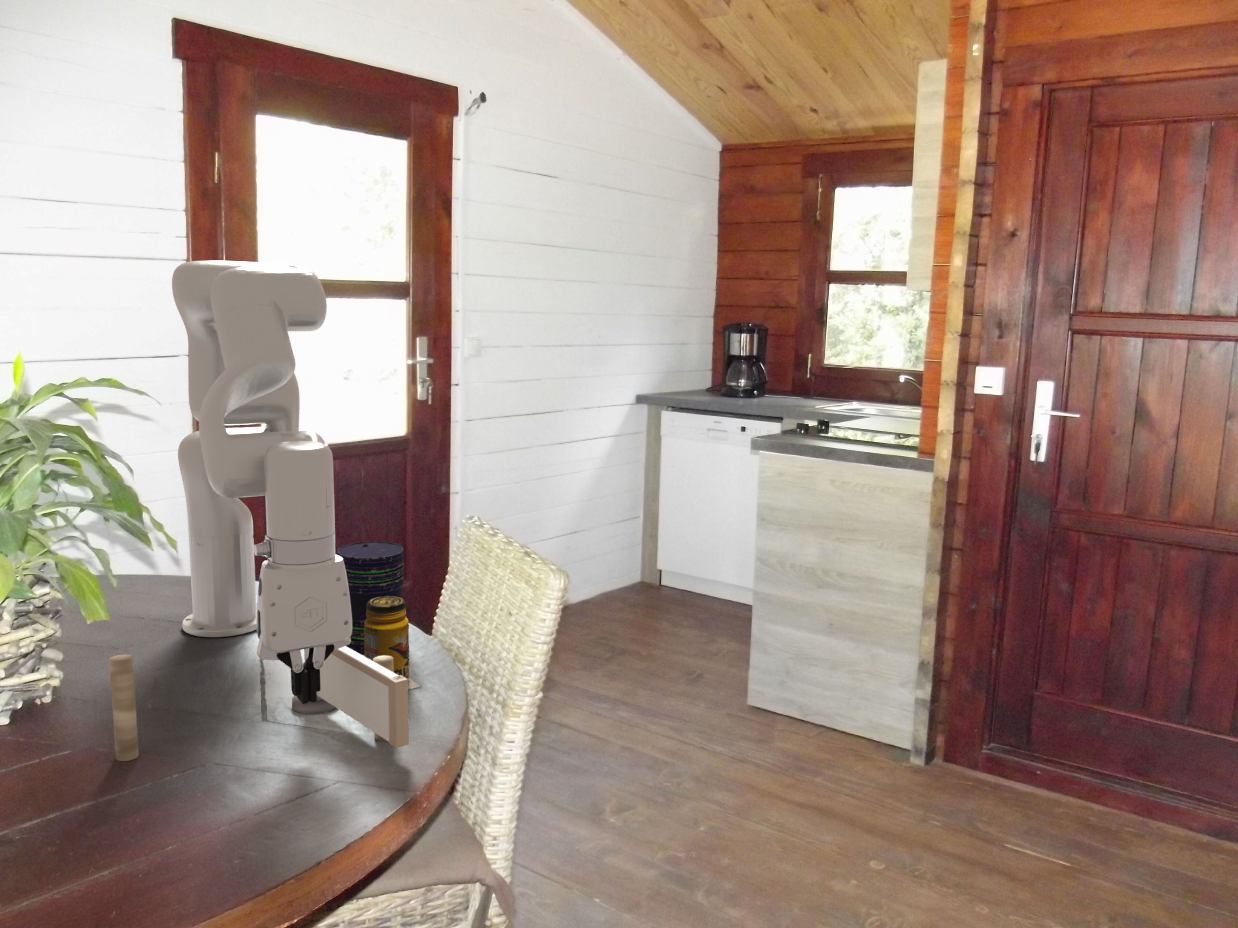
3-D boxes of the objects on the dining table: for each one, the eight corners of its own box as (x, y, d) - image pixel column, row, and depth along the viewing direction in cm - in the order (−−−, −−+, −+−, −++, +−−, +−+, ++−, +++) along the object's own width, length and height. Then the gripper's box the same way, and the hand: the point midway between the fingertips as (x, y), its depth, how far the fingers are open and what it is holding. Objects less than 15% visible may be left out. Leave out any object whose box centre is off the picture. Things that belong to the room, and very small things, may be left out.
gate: (302, 696, 135) (299, 615, 133) (320, 691, 136) (318, 611, 135) (392, 756, 118) (391, 665, 116) (412, 750, 120) (411, 660, 118)
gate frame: (108, 750, 121) (101, 652, 119) (329, 691, 139) (326, 606, 137) (162, 810, 107) (155, 702, 105) (398, 737, 126) (396, 643, 124)
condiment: (419, 687, 142) (419, 603, 139) (360, 699, 137) (358, 613, 135) (399, 670, 148) (398, 589, 145) (342, 681, 143) (339, 598, 141)
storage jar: (413, 649, 156) (412, 553, 153) (349, 659, 151) (346, 561, 148) (393, 629, 164) (392, 538, 162) (331, 638, 160) (329, 545, 157)
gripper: (242, 564, 112) (248, 723, 115) (375, 548, 120) (378, 697, 123) (226, 549, 118) (233, 700, 121) (354, 534, 126) (357, 676, 129)
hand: (306, 698), depth 122 cm, fingers closed
